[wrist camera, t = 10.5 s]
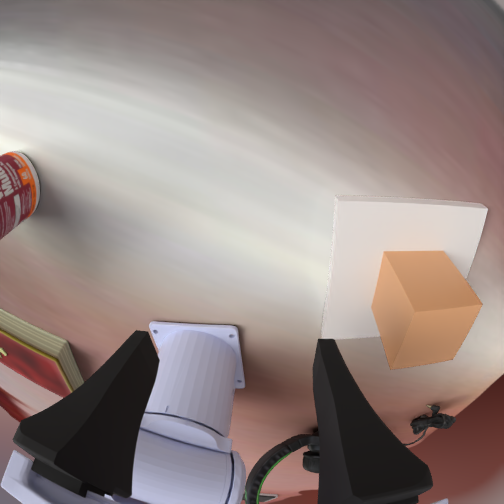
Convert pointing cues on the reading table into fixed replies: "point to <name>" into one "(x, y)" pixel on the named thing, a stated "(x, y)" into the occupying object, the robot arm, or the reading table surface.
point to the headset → (313, 455)
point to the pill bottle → (17, 190)
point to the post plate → (389, 239)
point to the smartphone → (264, 497)
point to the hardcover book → (38, 355)
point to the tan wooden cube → (422, 307)
